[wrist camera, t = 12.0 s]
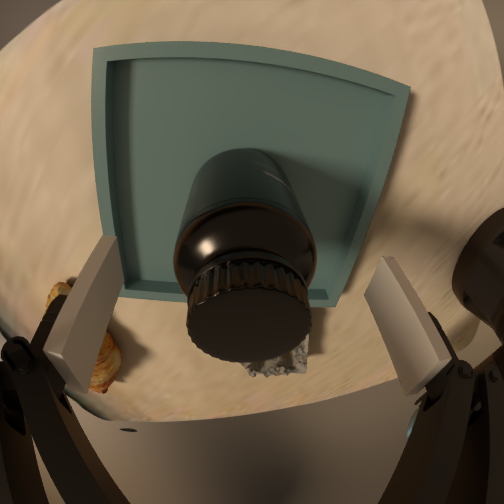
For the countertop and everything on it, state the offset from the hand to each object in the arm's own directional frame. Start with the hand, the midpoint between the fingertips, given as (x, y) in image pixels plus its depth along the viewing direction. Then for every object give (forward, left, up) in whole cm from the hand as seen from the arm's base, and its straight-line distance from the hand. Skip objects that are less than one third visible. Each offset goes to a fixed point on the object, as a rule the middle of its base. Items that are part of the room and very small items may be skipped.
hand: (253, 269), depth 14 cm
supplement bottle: (0, 0, -8) cm, 8 cm away
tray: (0, 0, -9) cm, 9 cm away
